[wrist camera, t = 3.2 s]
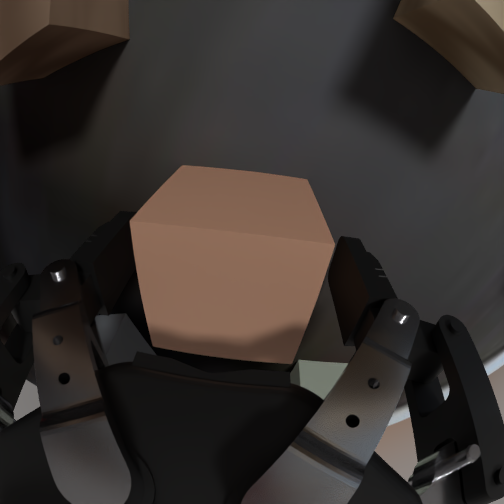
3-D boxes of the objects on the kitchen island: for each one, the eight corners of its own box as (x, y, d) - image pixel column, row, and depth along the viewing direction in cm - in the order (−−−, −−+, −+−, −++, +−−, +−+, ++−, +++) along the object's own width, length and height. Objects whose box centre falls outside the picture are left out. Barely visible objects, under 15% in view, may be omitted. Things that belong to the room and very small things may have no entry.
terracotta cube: (183, 265, 13) (152, 346, 9) (182, 164, 10) (129, 220, 6) (285, 277, 13) (291, 363, 9) (306, 178, 10) (334, 244, 6)
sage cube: (278, 391, 20) (278, 447, 16) (298, 358, 17) (303, 426, 13) (334, 394, 20) (340, 446, 16) (362, 363, 17) (375, 423, 13)
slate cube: (111, 358, 19) (91, 409, 15) (76, 316, 16) (46, 369, 12) (161, 359, 18) (144, 418, 14) (126, 312, 15) (96, 377, 11)
